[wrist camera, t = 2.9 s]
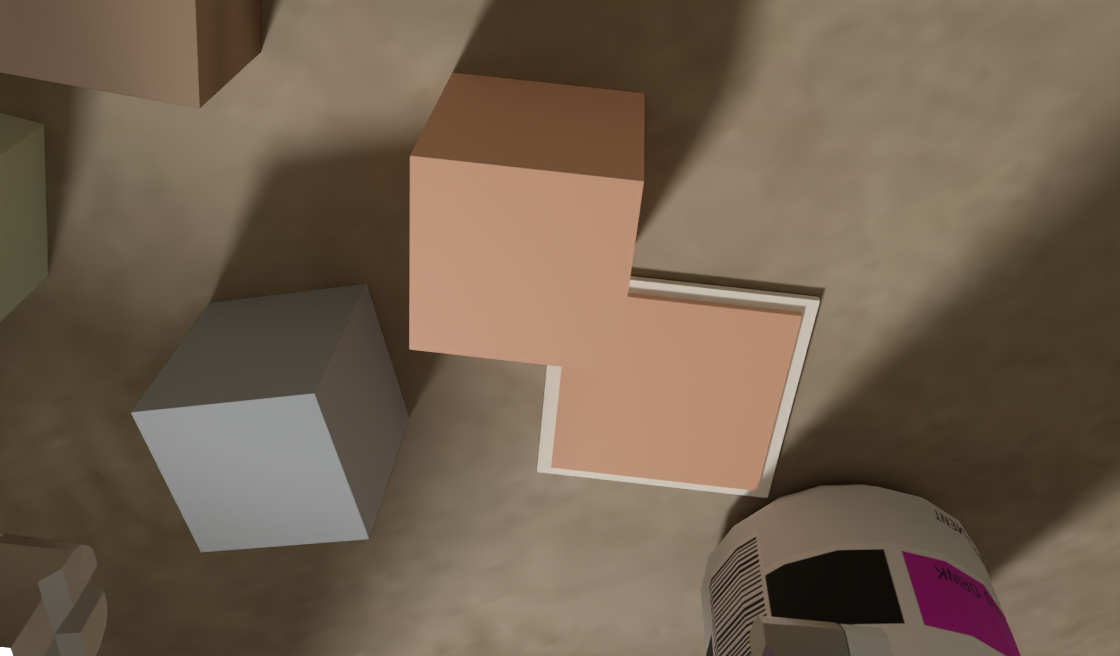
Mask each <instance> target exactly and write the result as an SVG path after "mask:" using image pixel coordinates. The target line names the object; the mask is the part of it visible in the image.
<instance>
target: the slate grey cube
mask: <svg viewBox="0 0 1120 656" xmlns="http://www.w3.org/2000/svg"><path fill="white" fill-rule="evenodd" d="M131 414H132V416H133V418H134V420H135V422H136V424H137V426H138V428H139V430H140V432H141V434H142V436H143V438H144V440H145V442H146V444H147V446H148V448H149V450H150V452H151V454H152V456H153V458H154V460H155V462H156V464H157V466H158V468H159V470H160V472H161V474H162V476H163V478H164V480H165V482H166V484H167V486H168V488H169V490H170V492H171V494H172V496H173V498H174V500H175V502H176V504H177V506H178V508H179V510H180V512H181V514H182V516H183V518H184V520H185V521H186V523H187V525H188V527H189V529H190V531H191V533H192V535H193V537H194V539H195V541H196V543H197V545H198V547H199V549H200V551H201V552H213V551H225V550H238V549H251V548H263V547H276V546H289V545H301V544H314V543H327V542H339V541H352V540H365V539H369V538H370V535H371V532H372V529H373V526H374V523H375V520H376V517H377V514H378V511H379V508H380V505H381V502H382V499H383V496H384V492H385V489H386V486H387V483H388V480H389V477H390V474H391V471H392V468H393V465H394V462H395V459H396V456H397V453H398V450H399V447H400V444H401V441H402V438H403V435H404V432H405V428H406V425H407V422H408V419H409V415H408V412H407V409H406V405H405V402H404V399H403V396H402V393H401V390H400V387H399V384H398V380H397V377H396V374H395V371H394V368H393V365H392V362H391V359H390V355H389V352H388V349H387V346H386V343H385V340H384V337H383V334H382V331H381V327H380V324H379V321H378V318H377V315H376V312H375V309H374V306H373V302H372V299H371V296H370V293H369V290H368V287H367V284H360V285H352V286H343V287H335V288H327V289H318V290H310V291H302V292H293V293H285V294H277V295H268V296H260V297H252V298H244V299H235V300H227V301H219V302H210V303H209V304H208V306H207V307H206V309H205V310H204V311H203V313H202V314H201V315H200V317H199V318H198V320H197V321H196V322H195V324H194V325H193V327H192V328H191V329H190V331H189V332H188V334H187V335H186V336H185V338H184V339H183V340H182V342H181V343H180V345H179V346H178V347H177V349H176V350H175V352H174V353H173V354H172V356H171V357H170V359H169V360H168V361H167V363H166V364H165V366H164V367H163V368H162V370H161V371H160V372H159V374H158V375H157V377H156V378H155V379H154V381H153V382H152V384H151V385H150V386H149V388H148V389H147V391H146V392H145V393H144V395H143V396H142V398H141V399H140V400H139V402H138V403H137V404H136V406H135V407H134V409H133V410H132V411H131Z"/></svg>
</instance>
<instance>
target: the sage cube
mask: <svg viewBox="0 0 1120 656" xmlns="http://www.w3.org/2000/svg"><path fill="white" fill-rule="evenodd" d="M47 276H48V248H47V211H46V174H45V137H44V124H41V123H38V122H34V121H30V120H26V119H23V118H19V117H15V116H11V115H8V114H4V113H0V322H1V321H2V320H3V319H4V318H5V317H6V316H7V315H8V314H9V313H10V312H11V311H12V310H13V309H14V308H15V307H16V306H17V305H18V304H19V303H20V302H21V301H22V300H23V299H25V298H26V297H27V296H28V295H29V294H30V293H31V292H32V291H33V290H34V289H35V288H36V287H37V286H38V285H39V284H40V283H41V282H42V281H43V280H44V279H45V278H46V277H47Z"/></svg>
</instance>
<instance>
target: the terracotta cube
mask: <svg viewBox="0 0 1120 656" xmlns="http://www.w3.org/2000/svg"><path fill="white" fill-rule="evenodd" d="M644 120H645V93H637V92H628V91H619V90H610V89H600V88H591V87H582V86H573V85H563V84H554V83H545V82H536V81H526V80H517V79H508V78H499V77H490V76H480V75H471V74H462V73H452V75H451V77H450V78H449V80H448V82H447V84H446V86H445V88H444V90H443V92H442V94H441V96H440V98H439V100H438V102H437V104H436V106H435V108H434V110H433V112H432V114H431V116H430V117H429V119H428V121H427V123H426V125H425V127H424V129H423V131H422V133H421V135H420V137H419V139H418V141H417V143H416V145H415V147H414V149H413V151H412V153H411V155H410V287H409V350H418V351H427V352H436V353H445V354H454V355H462V356H471V357H480V358H489V359H498V360H507V361H515V362H524V363H533V364H542V365H551V366H560V367H569V368H577V369H586V370H595V371H604V372H613V373H617V367H618V360H619V353H620V346H621V339H622V332H623V325H624V318H625V311H626V304H627V297H628V290H629V283H630V276H631V269H632V262H633V255H634V248H635V241H636V234H637V227H638V220H639V213H640V206H641V199H642V192H643V185H644Z"/></svg>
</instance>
